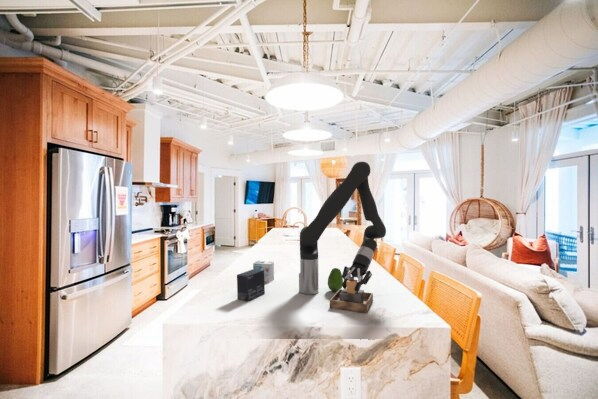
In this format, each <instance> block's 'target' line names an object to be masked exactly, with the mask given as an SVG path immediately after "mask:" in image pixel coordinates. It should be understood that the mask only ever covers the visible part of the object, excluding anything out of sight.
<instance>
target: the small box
mask: <svg viewBox="0 0 598 399" xmlns="http://www.w3.org/2000/svg"><path fill="white" fill-rule="evenodd" d="M265 286H266V285H265V282H264V270H258V269H253V268H252V269H249V270H247V271H244V272H240V273H238V274H236V288H237V295H236V296H237V300H240V301H244V302H250V301H252V300H254V299H256V298H258V297H260V296H262V295H265V291H266V290H265Z"/></svg>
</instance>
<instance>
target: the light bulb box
mask: <svg viewBox="0 0 598 399" xmlns="http://www.w3.org/2000/svg"><path fill="white" fill-rule="evenodd" d="M252 265H253V266H252V267H253V268H252V269H258V270H264V283H268V284H269V283H271V282H273V281H274V280H275V261H271V260H269V261H267V260H257V261H254V262H253V263H252Z"/></svg>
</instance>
